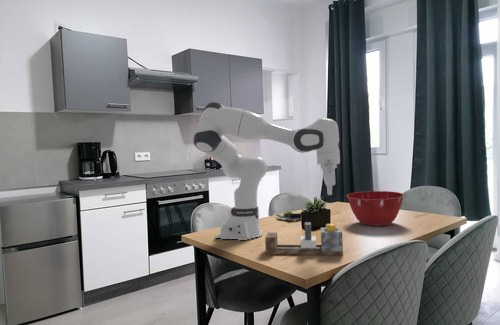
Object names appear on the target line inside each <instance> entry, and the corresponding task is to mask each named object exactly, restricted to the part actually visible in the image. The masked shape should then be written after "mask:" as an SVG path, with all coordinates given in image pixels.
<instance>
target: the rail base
mask: <svg viewBox="0 0 500 325" xmlns="http://www.w3.org/2000/svg"><path fill="white" fill-rule="evenodd" d="M264 238H265V243H264V244H265V255H266V254H296V255H295V256H344V251H343V250H344V246H343V244H344V243H343V241H344V239H343V231H342V227H341V226H339V227H337V226H336V231H326V227H320V244H316V248H301V244H279V243H278V232H267V233H266V235H265V237H264Z"/></svg>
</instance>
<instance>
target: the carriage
mask: <svg viewBox="0 0 500 325" xmlns="http://www.w3.org/2000/svg"><path fill="white" fill-rule="evenodd" d="M300 245H301V248H316V245H317V237H316V235H312V222H311V221H309V222H308V221H305V222H304V235H301V236H300Z"/></svg>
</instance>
